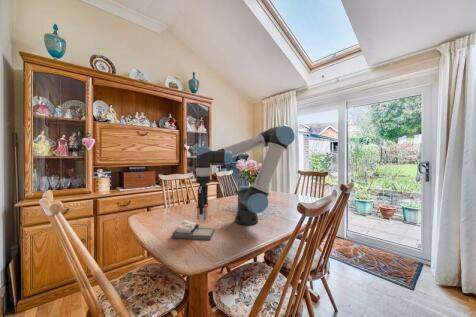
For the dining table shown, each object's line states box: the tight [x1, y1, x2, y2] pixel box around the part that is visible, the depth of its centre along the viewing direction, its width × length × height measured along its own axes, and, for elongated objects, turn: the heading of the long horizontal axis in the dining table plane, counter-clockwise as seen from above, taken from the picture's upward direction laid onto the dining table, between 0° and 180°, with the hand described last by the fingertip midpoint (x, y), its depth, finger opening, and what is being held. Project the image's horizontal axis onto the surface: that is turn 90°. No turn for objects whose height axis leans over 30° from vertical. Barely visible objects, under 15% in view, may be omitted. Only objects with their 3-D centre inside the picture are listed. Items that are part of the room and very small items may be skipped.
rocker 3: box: [180, 223, 194, 230], centre depth 109 cm, size 7×3×3 cm, turn 86°
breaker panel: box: [171, 223, 216, 241], centre depth 109 cm, size 20×13×3 cm, turn 86°
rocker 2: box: [181, 219, 197, 229], centre depth 113 cm, size 7×3×3 cm, turn 86°
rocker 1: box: [175, 224, 192, 233], centre depth 105 cm, size 7×3×3 cm, turn 86°
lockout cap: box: [196, 204, 209, 221], centre depth 109 cm, size 5×5×7 cm
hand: (202, 218), depth 109 cm, fingers closed on lockout cap, 5 cm apart
